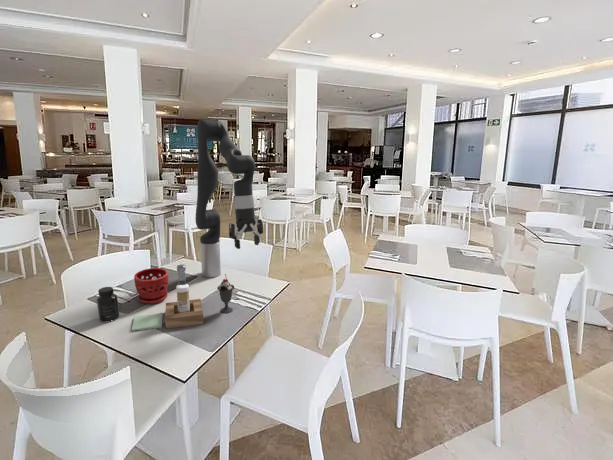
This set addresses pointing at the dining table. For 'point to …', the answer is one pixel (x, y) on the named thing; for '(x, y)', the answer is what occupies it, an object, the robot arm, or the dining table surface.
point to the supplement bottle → (107, 304)
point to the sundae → (226, 294)
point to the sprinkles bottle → (183, 298)
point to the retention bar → (181, 275)
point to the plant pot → (151, 285)
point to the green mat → (147, 321)
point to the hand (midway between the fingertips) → (247, 246)
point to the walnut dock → (183, 314)
